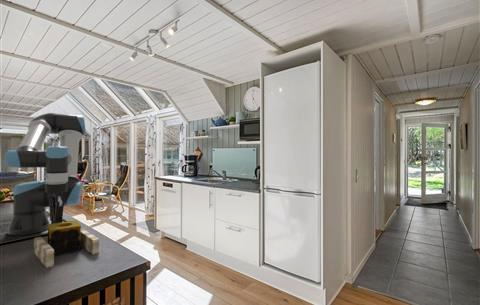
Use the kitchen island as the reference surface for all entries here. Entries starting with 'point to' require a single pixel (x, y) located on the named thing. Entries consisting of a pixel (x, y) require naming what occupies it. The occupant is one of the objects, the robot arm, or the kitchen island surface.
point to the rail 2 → (89, 242)
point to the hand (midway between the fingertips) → (55, 238)
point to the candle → (64, 237)
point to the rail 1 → (44, 252)
